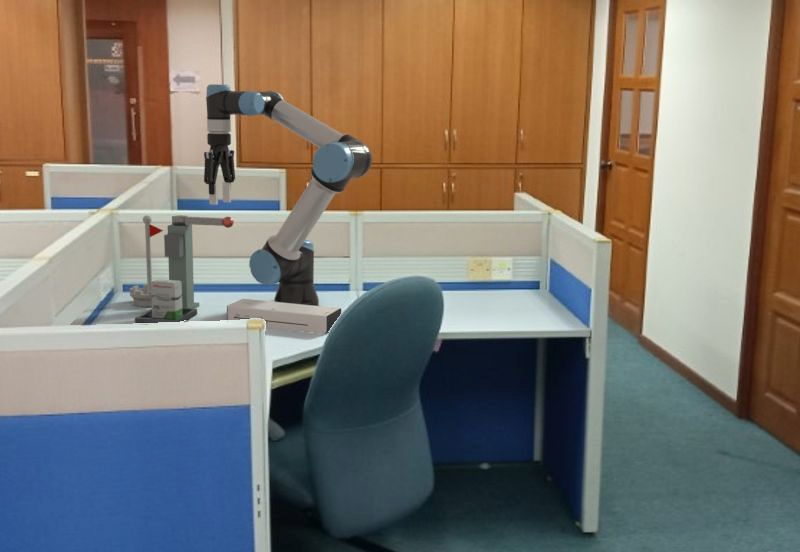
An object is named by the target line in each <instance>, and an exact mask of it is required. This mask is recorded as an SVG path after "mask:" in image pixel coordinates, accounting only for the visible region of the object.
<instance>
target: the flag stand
mask: <svg viewBox="0 0 800 552" xmlns="http://www.w3.org/2000/svg"><path fill="white" fill-rule="evenodd" d="M152 220H153V219H152V217H151V216H150V215H148V214H147V215H144V216H143V217H142V222H143V223H144V232H145V236H144V237H145V253H146V254H145V255H146V256H145V257H146V262H145V263H146V281H147V283H145V284H142V286H143V287H139V285H134V286H131V287H130V288H129V296H130V297H131V298H132V299H133V305H134V306H135V307H142V306H143V307H144V308H147V307H149V308H150V307H151V308H152V299H151V282H152V281H153V277H152V276H153V275H152V273H153V272H152V249H151V245H152V244H151V238H152V237H154V236H155V235H158V234H160V233H161V232H163V231H164V230H163V229H160V228H158V227H157V226H155V225H153V224H151V223H152Z"/></svg>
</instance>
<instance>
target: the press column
mask: <svg viewBox="0 0 800 552" xmlns="http://www.w3.org/2000/svg"><path fill="white" fill-rule="evenodd" d="M163 238H164V239H163V240H164V241H163V242H164V244H163V245H164V258H168V259H167V260H168V280H176V281H181V284H182V308H190V309H197V308H199V307H200V302H195V293H194V292H195V291H194V290H195V289H194V248H193V247H194V246H193V245H194V244H193V224H185V225H174V224H172V223H171V224H169V225H167V234H164V235H163Z"/></svg>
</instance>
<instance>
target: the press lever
mask: <svg viewBox="0 0 800 552" xmlns="http://www.w3.org/2000/svg"><path fill="white" fill-rule="evenodd" d="M171 224H174V225H185V224H192V226H193V225H194V226H195V225H196V226H197V225H198V226H215V227H216V226H218V227H220V226H221V227H222V226H223V227H224V228H228V229H230V228H231V227H233V225H234V219H233V217H230V216H225V217H210V216H209V217H207V216H206V217H205V216H204V217H202V216H188V215H182V214H181V215H173V216H171Z"/></svg>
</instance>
